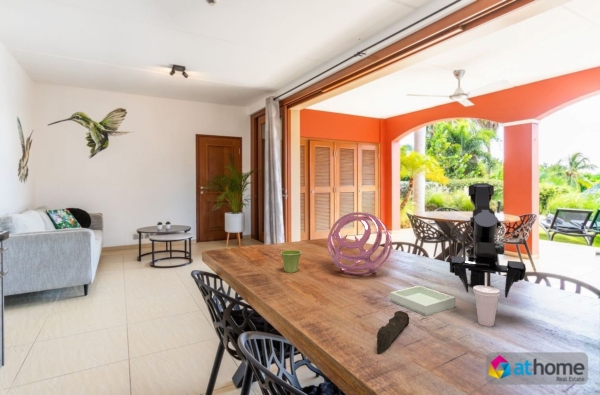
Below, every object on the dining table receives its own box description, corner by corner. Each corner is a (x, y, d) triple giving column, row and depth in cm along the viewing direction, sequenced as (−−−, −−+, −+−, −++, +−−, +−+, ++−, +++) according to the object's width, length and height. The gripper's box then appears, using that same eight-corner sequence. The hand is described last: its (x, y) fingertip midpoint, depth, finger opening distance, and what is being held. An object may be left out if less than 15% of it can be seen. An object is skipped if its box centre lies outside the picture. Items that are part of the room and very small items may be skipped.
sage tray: (418, 293, 111) (418, 285, 111) (455, 306, 99) (455, 297, 99) (390, 301, 104) (390, 292, 104) (425, 316, 92) (425, 306, 92)
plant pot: (301, 273, 138) (301, 254, 138) (280, 274, 138) (279, 254, 138) (301, 268, 147) (301, 250, 147) (281, 268, 148) (281, 250, 147)
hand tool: (395, 322, 89) (395, 306, 88) (409, 326, 86) (409, 309, 86) (366, 352, 73) (366, 332, 73) (383, 357, 71) (383, 337, 71)
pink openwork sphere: (352, 222, 163) (337, 194, 142) (405, 239, 147) (397, 211, 126) (327, 270, 154) (307, 247, 133) (381, 294, 138) (368, 272, 117)
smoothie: (496, 320, 89) (496, 271, 88) (502, 330, 83) (503, 277, 82) (470, 317, 91) (471, 269, 90) (475, 326, 85) (475, 275, 84)
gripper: (450, 229, 95) (448, 274, 86) (525, 233, 86) (532, 283, 77) (450, 250, 102) (449, 294, 93) (520, 256, 94) (526, 305, 84)
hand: (486, 294), depth 86 cm, fingers open, 9 cm apart
